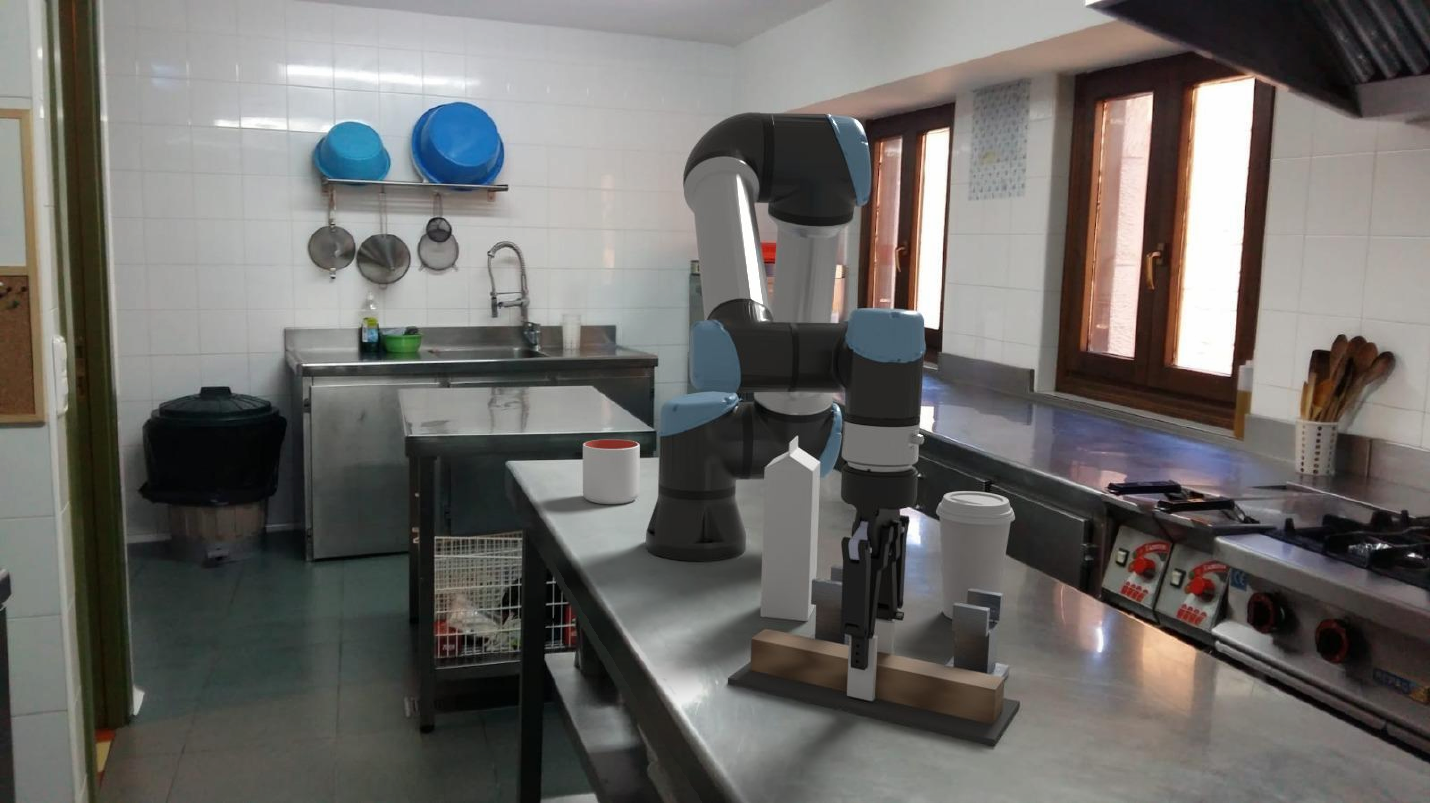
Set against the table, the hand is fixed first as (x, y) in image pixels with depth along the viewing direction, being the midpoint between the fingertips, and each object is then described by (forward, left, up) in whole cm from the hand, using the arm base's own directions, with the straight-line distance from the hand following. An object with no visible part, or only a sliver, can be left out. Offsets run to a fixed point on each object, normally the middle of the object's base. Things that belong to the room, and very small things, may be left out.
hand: (869, 688), depth 112 cm
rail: (0, 0, 0) cm, 0 cm away
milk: (-18, +19, -1) cm, 27 cm away
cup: (-70, +57, -1) cm, 91 cm away
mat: (0, 0, -1) cm, 1 cm away
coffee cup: (+2, +30, -1) cm, 31 cm away
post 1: (-8, +10, -1) cm, 13 cm away
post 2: (+8, +10, -1) cm, 13 cm away
